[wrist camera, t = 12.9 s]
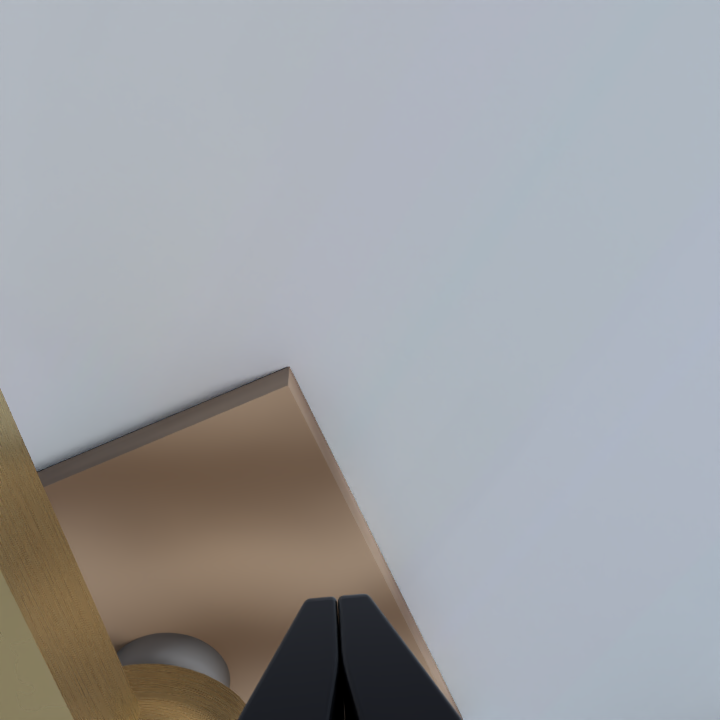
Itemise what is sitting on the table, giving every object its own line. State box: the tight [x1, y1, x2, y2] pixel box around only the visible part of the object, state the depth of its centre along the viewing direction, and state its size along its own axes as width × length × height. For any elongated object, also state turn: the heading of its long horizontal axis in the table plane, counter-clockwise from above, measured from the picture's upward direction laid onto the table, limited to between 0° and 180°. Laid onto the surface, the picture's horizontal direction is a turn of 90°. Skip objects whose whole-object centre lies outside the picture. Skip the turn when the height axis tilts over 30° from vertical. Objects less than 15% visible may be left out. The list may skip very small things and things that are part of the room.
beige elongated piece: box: [0, 389, 246, 720], centre depth 16 cm, size 18×6×4 cm, turn 12°
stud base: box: [37, 367, 463, 720], centre depth 22 cm, size 16×16×4 cm
